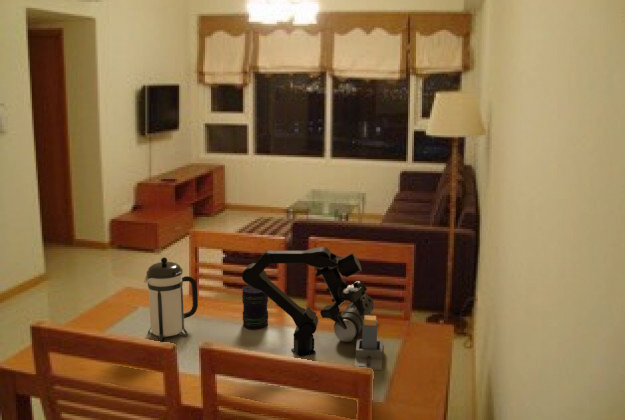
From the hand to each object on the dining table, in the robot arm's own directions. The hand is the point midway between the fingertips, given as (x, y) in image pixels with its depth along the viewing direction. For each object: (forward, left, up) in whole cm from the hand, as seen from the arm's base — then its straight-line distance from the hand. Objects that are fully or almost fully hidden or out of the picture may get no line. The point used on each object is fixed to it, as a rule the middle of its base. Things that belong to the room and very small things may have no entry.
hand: (354, 321), depth 205 cm
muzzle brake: (+12, +17, -13) cm, 25 cm away
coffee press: (-49, +50, -13) cm, 71 cm away
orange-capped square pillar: (+4, -3, -11) cm, 13 cm away
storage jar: (-18, +41, -13) cm, 46 cm away
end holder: (+4, -3, -12) cm, 13 cm away
